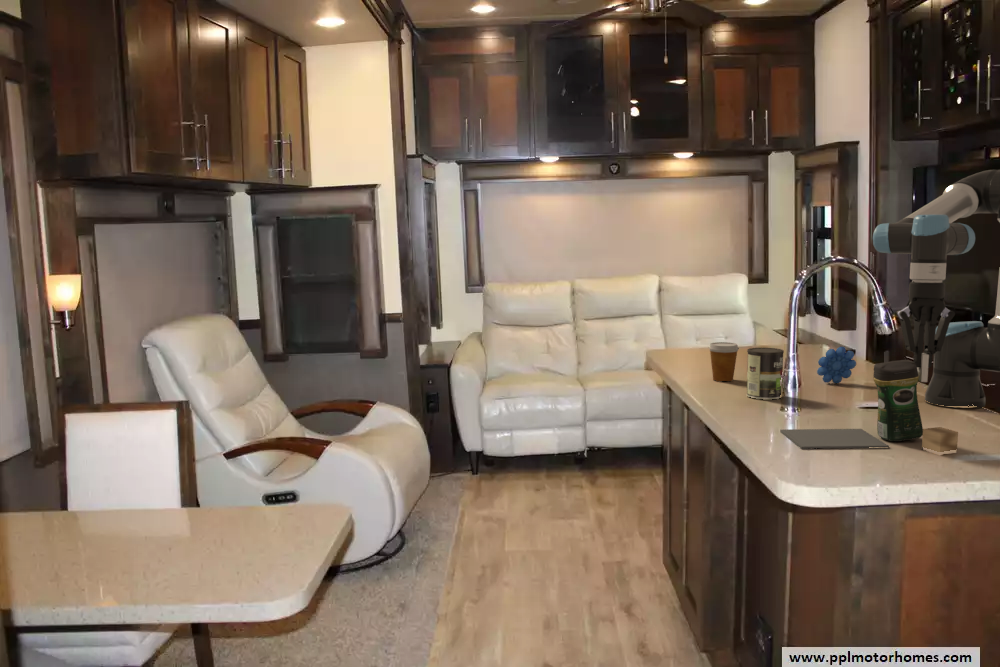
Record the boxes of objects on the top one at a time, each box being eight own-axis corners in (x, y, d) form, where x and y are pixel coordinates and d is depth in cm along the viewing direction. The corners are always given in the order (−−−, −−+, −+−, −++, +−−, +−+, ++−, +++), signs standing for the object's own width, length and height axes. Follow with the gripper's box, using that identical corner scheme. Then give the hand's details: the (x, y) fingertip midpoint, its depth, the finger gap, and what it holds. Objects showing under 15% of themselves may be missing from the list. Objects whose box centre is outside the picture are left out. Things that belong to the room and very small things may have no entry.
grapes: (852, 381, 275) (854, 344, 273) (857, 385, 268) (858, 347, 267) (814, 380, 277) (815, 344, 276) (817, 384, 271) (819, 347, 269)
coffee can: (787, 395, 256) (788, 348, 254) (775, 401, 247) (776, 353, 246) (753, 391, 262) (754, 346, 260) (740, 397, 254) (741, 350, 252)
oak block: (939, 448, 197) (940, 426, 196) (956, 453, 192) (958, 432, 192) (921, 450, 195) (923, 428, 195) (939, 455, 191) (940, 434, 190)
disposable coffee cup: (744, 380, 280) (745, 344, 278) (725, 384, 274) (726, 347, 272) (720, 376, 287) (721, 341, 286) (702, 380, 281) (702, 343, 280)
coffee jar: (912, 430, 208) (908, 355, 206) (928, 439, 201) (923, 361, 198) (872, 435, 209) (867, 360, 206) (886, 444, 201) (881, 367, 198)
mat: (861, 431, 213) (861, 428, 213) (888, 448, 197) (889, 445, 197) (780, 431, 213) (780, 429, 213) (801, 449, 197) (801, 446, 197)
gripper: (906, 282, 196) (901, 383, 199) (963, 282, 196) (957, 383, 198) (892, 280, 203) (887, 378, 206) (947, 280, 203) (941, 378, 206)
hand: (921, 380), depth 202 cm, fingers closed
